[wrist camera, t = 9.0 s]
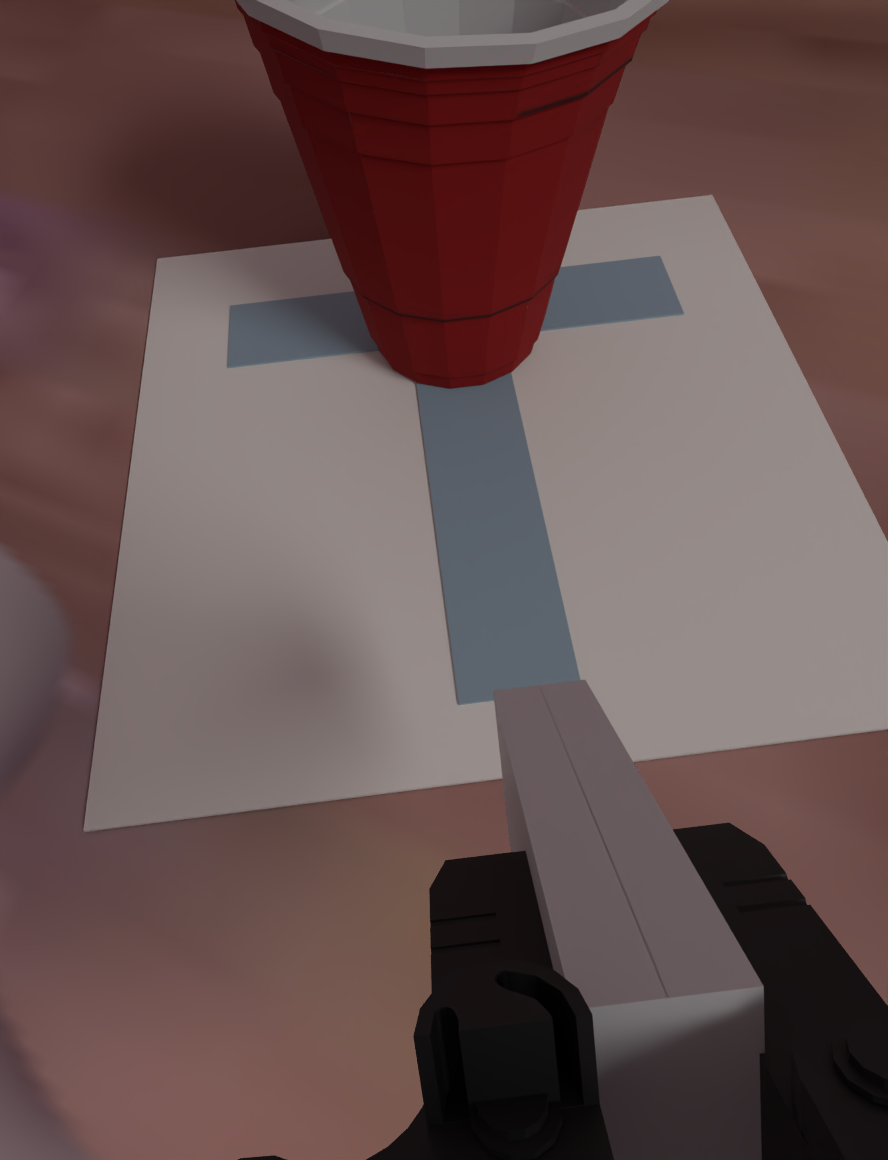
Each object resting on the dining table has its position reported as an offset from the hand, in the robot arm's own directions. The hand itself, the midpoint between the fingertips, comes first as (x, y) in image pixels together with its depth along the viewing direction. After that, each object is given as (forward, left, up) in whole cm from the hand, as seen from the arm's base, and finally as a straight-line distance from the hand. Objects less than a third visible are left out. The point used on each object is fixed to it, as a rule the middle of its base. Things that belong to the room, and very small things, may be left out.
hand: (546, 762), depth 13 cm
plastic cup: (-1, -17, -6) cm, 19 cm away
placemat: (0, -13, -6) cm, 14 cm away
